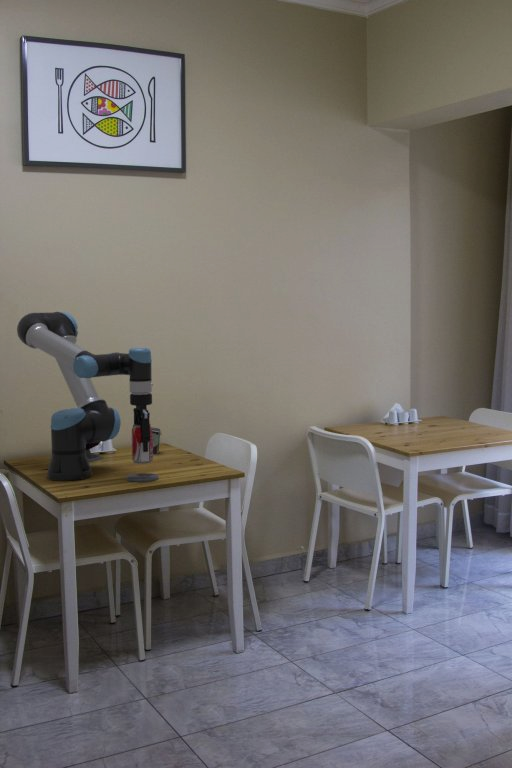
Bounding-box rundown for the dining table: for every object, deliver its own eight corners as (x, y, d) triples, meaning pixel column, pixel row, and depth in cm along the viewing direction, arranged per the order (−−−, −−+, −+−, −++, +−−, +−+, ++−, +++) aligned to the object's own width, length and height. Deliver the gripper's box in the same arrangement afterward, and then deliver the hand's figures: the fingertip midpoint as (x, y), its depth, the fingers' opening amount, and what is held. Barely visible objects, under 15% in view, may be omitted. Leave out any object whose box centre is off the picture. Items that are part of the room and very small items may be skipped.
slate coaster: (130, 483, 289) (130, 481, 289) (123, 476, 299) (123, 474, 299) (162, 480, 293) (161, 478, 293) (154, 474, 303) (154, 472, 303)
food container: (166, 452, 345) (166, 427, 344) (160, 455, 339) (160, 430, 338) (139, 450, 349) (138, 426, 348) (132, 453, 343) (132, 428, 342)
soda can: (155, 460, 298) (154, 423, 297) (150, 464, 291) (149, 426, 290) (135, 460, 299) (134, 423, 298) (130, 463, 292) (129, 426, 290)
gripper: (158, 395, 285) (160, 463, 287) (144, 389, 303) (146, 453, 306) (136, 396, 282) (138, 465, 284) (123, 390, 301) (125, 455, 303)
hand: (142, 459), depth 295 cm, fingers closed on soda can, 7 cm apart
